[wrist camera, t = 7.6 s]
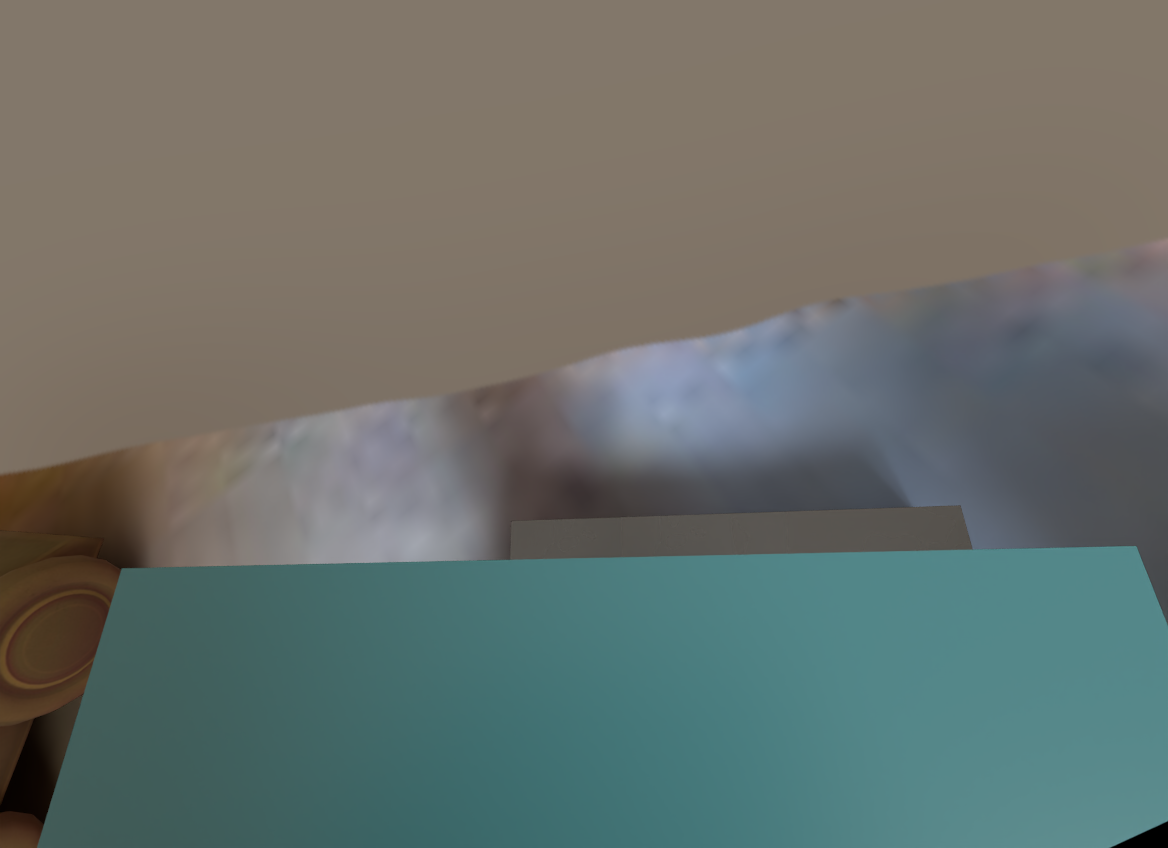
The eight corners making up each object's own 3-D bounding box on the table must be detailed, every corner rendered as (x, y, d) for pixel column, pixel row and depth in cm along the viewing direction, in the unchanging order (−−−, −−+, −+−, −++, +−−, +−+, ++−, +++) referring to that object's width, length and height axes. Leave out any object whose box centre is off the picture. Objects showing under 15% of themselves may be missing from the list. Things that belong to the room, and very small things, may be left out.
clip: (753, 729, 13) (1885, 2438, 1) (546, 723, 14) (-199, 1623, 2) (736, 580, 14) (1135, 545, 2) (547, 582, 15) (122, 567, 3)
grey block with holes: (979, 759, 17) (1040, 793, 15) (524, 743, 20) (502, 770, 17) (918, 516, 20) (960, 505, 18) (529, 528, 23) (511, 520, 20)
